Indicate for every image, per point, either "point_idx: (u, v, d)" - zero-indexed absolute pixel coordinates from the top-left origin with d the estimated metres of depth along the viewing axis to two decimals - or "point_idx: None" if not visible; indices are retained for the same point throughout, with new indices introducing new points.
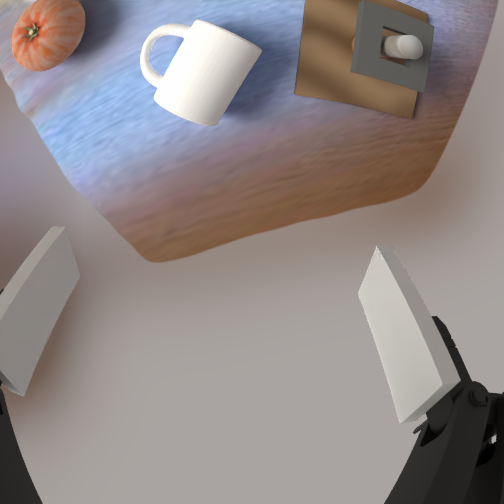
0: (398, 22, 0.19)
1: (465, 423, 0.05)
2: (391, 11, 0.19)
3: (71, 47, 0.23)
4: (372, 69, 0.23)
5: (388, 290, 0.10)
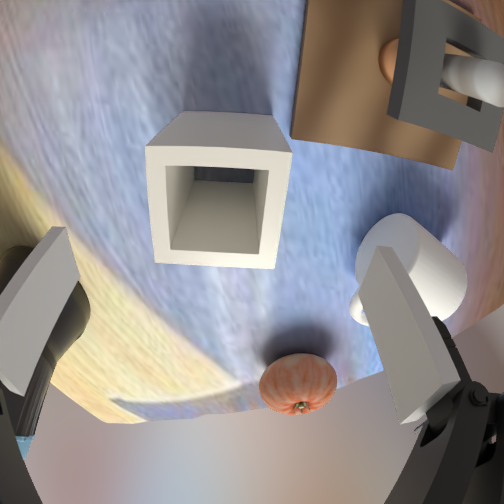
0: (429, 62, 0.11)
1: (465, 423, 0.05)
2: (412, 70, 0.11)
3: (329, 371, 0.35)
4: (492, 126, 0.13)
5: (388, 290, 0.10)
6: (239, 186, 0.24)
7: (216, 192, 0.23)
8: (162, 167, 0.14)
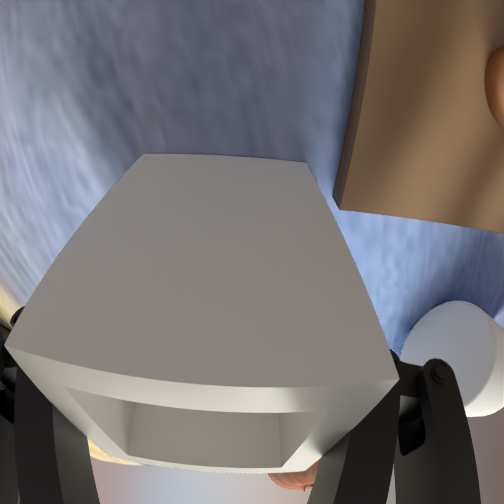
0: None
1: None
2: None
3: None
4: None
5: None
6: None
7: None
8: (60, 388, 0.04)
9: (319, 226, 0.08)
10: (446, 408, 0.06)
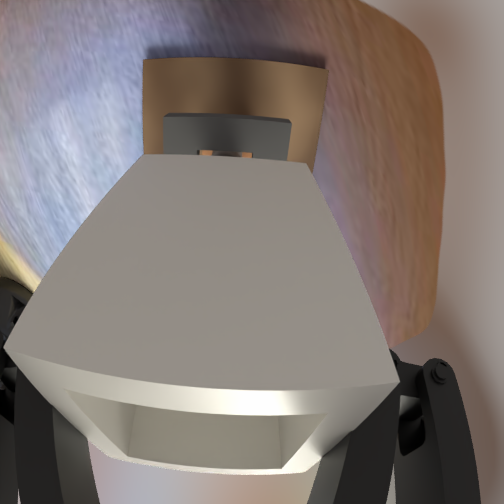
0: None
1: None
2: None
3: None
4: None
5: None
6: None
7: None
8: (60, 390, 0.04)
9: (319, 227, 0.08)
10: (446, 408, 0.06)
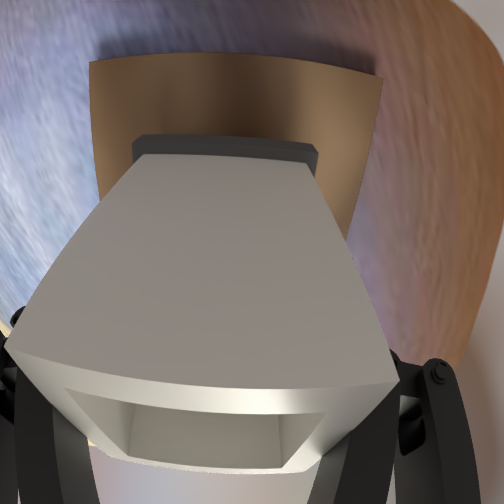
0: None
1: None
2: None
3: None
4: None
5: None
6: None
7: None
8: (61, 389, 0.04)
9: (319, 227, 0.08)
10: (446, 408, 0.06)
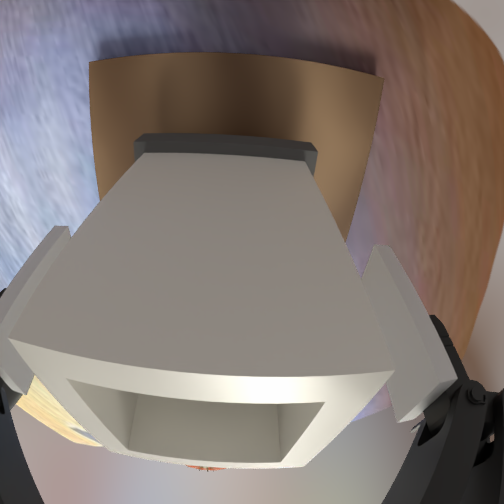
0: None
1: (462, 422, 0.05)
2: None
3: None
4: None
5: (385, 288, 0.10)
6: None
7: None
8: (63, 380, 0.05)
9: (317, 223, 0.08)
10: None
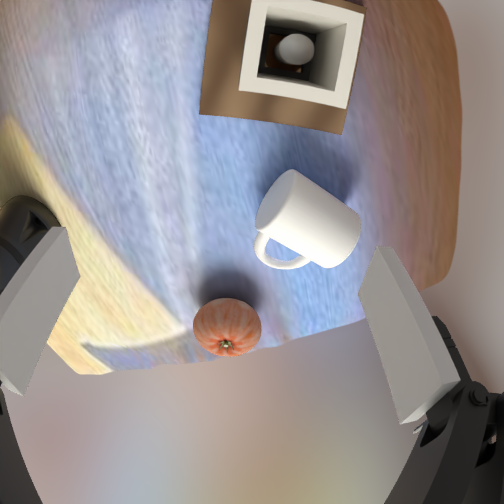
0: None
1: (465, 423, 0.05)
2: None
3: (250, 314, 0.44)
4: None
5: (388, 290, 0.10)
6: (297, 79, 0.24)
7: (279, 76, 0.23)
8: (265, 7, 0.13)
9: None
10: None
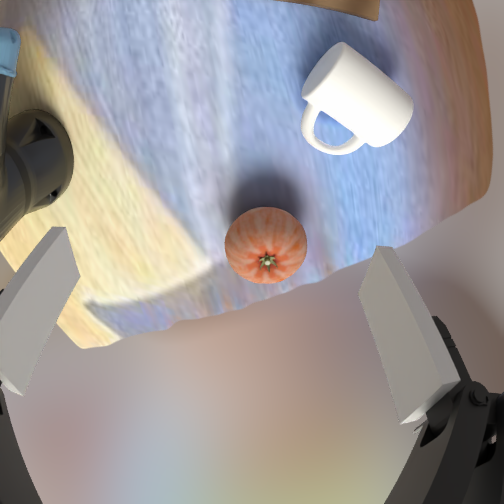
0: None
1: (465, 423, 0.05)
2: None
3: (295, 221, 0.37)
4: None
5: (388, 290, 0.10)
6: None
7: None
8: None
9: None
10: None
